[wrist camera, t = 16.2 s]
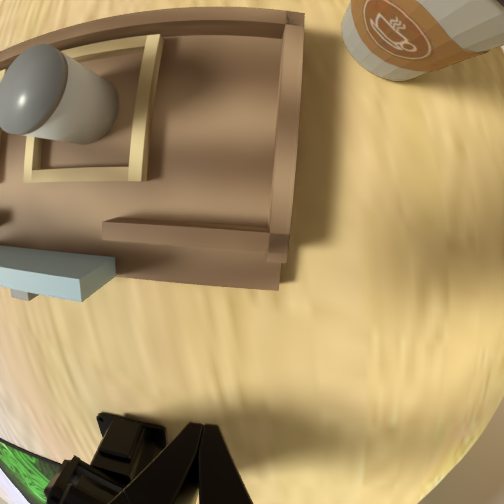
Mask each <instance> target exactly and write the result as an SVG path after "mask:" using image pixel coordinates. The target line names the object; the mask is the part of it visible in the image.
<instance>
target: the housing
mask: <svg viewBox="0 0 504 504" xmlns="http://www.w3.org/2000/svg"><path fill="white" fill-rule="evenodd" d="M304 15H305V13H299V12H291V11H283V10H274V9H262V8H246V7H189V8H173V9H162V10H152V11H144V12H137V13H130V14H124V15H119V16H113V17H108V18H103V19H98V20H94V21H90V22H86V23H82V24H78V25H74V26H70V27H67V28H63V29H60V30H57V31H53V32H50V33H47V34H44V35H41V36H38V37H36V38H33V39H30V40H27V41H25V42H22V43H20V44H17V45H15V46H12V47H10V48H8V49H5V50H3V51H1V52H0V83H1V80H2V78H3V76H4V74H5V73H6V71H7V69H8V68H9V67H10V65H11V64H12V63H13V61H14V60H15V59H16V58H17V57H18V56H19V55H20V54H22V53H23V52H24V51H26V50H27V49H29V48H31V47H33V46H35V45H39V44H48V45H51V46H53V47H54V48H56V49H58V50H59V51H61V52H62V53H64V54H66V55H67V56H69V57H71V58H72V59H74V60H75V61H77V62H79V63H80V64H82V65H83V66H85V67H86V68H88V69H89V70H91V71H93V72H94V73H96V74H97V75H99V76H100V77H102V78H103V79H105V80H106V81H108V82H109V83H111V84H112V85H113V86H114V88H115V89H116V91H117V94H118V97H119V109H118V114H117V117H116V119H115V122H114V123H113V125H112V127H111V128H110V130H109V131H108V132H107V133H106V134H105V135H104V136H103V137H102V138H100V139H99V140H97V141H95V142H93V143H90V144H85V145H81V144H75V143H69V142H63V141H57V140H51V139H45V138H38V137H31V136H24V135H17V134H10V133H7V132H5V131H4V130H3V129H2V128H1V127H0V245H1V246H10V247H19V248H28V249H38V250H47V251H57V252H67V253H77V254H87V255H98V256H108V257H115V267H116V276H117V277H126V278H135V279H145V280H155V281H165V282H175V283H186V284H197V285H209V286H221V287H234V288H247V289H261V290H276V291H279V282H280V273H281V264H282V263H287V255H288V245H289V236H290V226H291V216H292V205H293V194H294V183H295V171H296V159H297V146H298V132H299V118H300V102H301V85H302V66H303V43H304Z"/></svg>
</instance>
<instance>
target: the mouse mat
mask: <svg viewBox="0 0 504 504" xmlns="http://www.w3.org/2000/svg"><path fill="white" fill-rule="evenodd" d="M60 467H61V464H58V463H56V462H53V461H50V460H48V459H45V458H42V457H40V456H37V455H35V454H32V453H30V452H27V451H25V450H23V449H21V448H18V447H16V446H14V445H12V444H10V443H8V442H5V441H4V440H1V439H0V468H1V469H2V471H3V472H4V473H5V475H6V476H7V477H8V478H9V480H10V481H11V482H12V483H13V484H14V485H15V487H16V488H17V489H18V490H19V491H20V492H21V493H22V495H23V496H24V497H25V499H26V500H27V501H28V502H29V503H30V504H46V501H47V499H46V497H45V495H44V489H45V487H46V486H47V485H48V483H49V482H50V481H51V480H52V478H53V477H54V476H55V475H56V473H57V472H58V470H59V468H60Z"/></svg>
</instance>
